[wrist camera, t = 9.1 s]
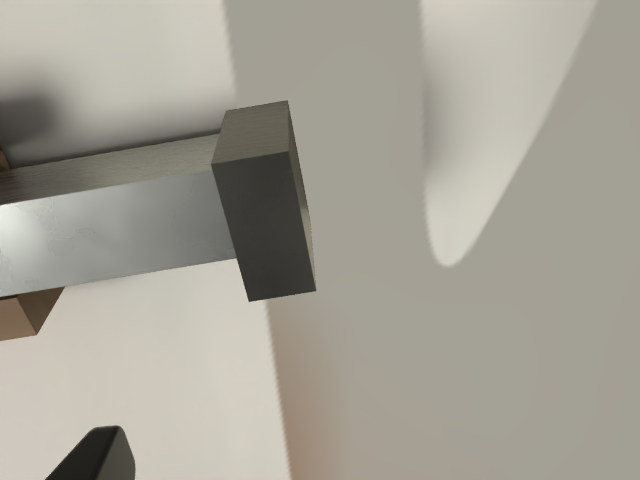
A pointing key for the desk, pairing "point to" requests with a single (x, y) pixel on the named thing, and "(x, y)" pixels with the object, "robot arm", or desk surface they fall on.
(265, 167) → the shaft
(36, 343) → the desk surface
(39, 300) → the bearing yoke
